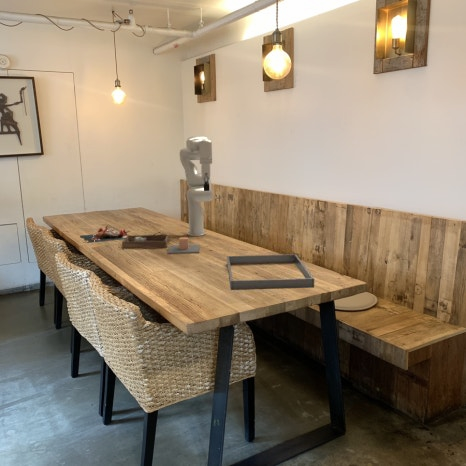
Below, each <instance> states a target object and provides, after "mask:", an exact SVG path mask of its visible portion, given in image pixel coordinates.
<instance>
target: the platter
mask: <svg viewBox="0 0 466 466" xmlns="http://www.w3.org/2000/svg"><path fill="white" fill-rule="evenodd" d="M130 232H131V230H130V231H126V230H125V229H123V230H122V229H120V232H119V231H118V230H117V229H114V228H112V227H110V228H109V226H108V225H106V226H105V228H104V229H103V228H102V227H100V228H98V230H97V233H95V234H96V235H94V236H93V234H84V235H79V237H80V239H83V242H82V244H83V243H85V242H87V241H88V242H87V243H86V244H89V243H102V242H110V241H111V242H112V241H121V240H123V241H124V239H125V238H126V237H127V236H128V234H127V233H130ZM94 240H95V242H94Z"/></svg>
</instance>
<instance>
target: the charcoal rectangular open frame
mask: <svg viewBox="0 0 466 466" xmlns="http://www.w3.org/2000/svg"><path fill="white" fill-rule="evenodd" d="M278 263H279V264H281V263H282V264H283V263H285V264H287V263H294V264H295V265H296V267H297V268H298V270H299V271H300V273H301V274H302V276H303V278H301V277H299V278H272V279H271V278H267V279H266V278H265V279H238V280H237V279H236V280H235V279H234V280H233V274H232V266H231V265H242V264H243V265H244V264H245V265H247V264H278ZM226 267H227V272H228V279H229V287H230V288H229V289H230V291H241V290H243V291H246V290H248V291H250V290H276V289H277V290H279V289H280V290H281V289H284V290H285V289H308V288H309V289H310V288H311V289H313V288H315V277H314V276H313V275H312V274H311V272H310V271H309V269H308V268H307V266H306V265H305V264H304V263H303V262H302V260H301V259H300V258H299V256H298V254H296V253H295V254H293V253H291V254H290V253H289V254H259V255H257V254H256V255H255V254H254V255H252V254H251V255H227V256H226Z"/></svg>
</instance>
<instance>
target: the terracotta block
mask: <svg viewBox="0 0 466 466" xmlns="http://www.w3.org/2000/svg"><path fill="white" fill-rule="evenodd" d="M178 241H179V242H178V245H179V249H188V248H189V245H190V244H189V237H187V236H183V237H179V239H178Z"/></svg>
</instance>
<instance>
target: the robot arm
mask: <svg viewBox="0 0 466 466" xmlns="http://www.w3.org/2000/svg"><path fill="white" fill-rule="evenodd" d="M185 144H186V145H185V146H186V147H183V148H182V149H180V151H179V161H180V163H181V165H182V167H183V169H184V174H185V180H186V184H187V186H188V187H189V188H188V190H187V191H186V199H187V204H188V205H187V206H188V228H189V231H187V232H186V233H187V234H186V235H187V236H191V237H197V236H198V237H199V236H204V235H206V233H207V232H206V231H204V212H203V211H204V208H203V206H202V205H201V204H200V203H201V202H202V203H203V202H211V201H212V200H213V198H214V191H213V186H212V183H211V165H213V144H212V141H211V140H209V138H207V137H206V136H190V137H188V138H187V139H186V143H185ZM193 161H199V164H200V165H201V166H200V167H201V168H200V169H201V173H200V172H198V167H197V165H196V164H195V163H194V162H193Z"/></svg>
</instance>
